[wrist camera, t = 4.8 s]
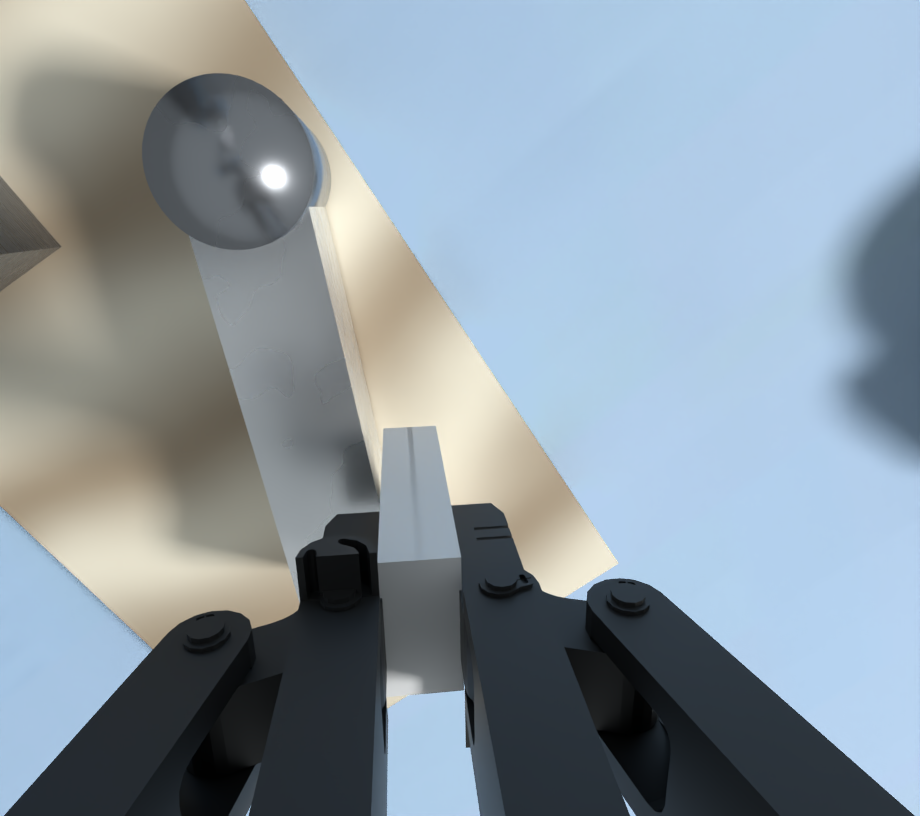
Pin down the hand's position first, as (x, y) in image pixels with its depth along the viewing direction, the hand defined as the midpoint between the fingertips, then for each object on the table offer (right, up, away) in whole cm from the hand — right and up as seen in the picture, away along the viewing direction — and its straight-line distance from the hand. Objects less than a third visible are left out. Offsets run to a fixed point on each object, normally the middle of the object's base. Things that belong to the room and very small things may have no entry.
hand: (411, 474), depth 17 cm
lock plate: (-6, +2, +3) cm, 7 cm away
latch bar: (-3, +3, +1) cm, 4 cm away
